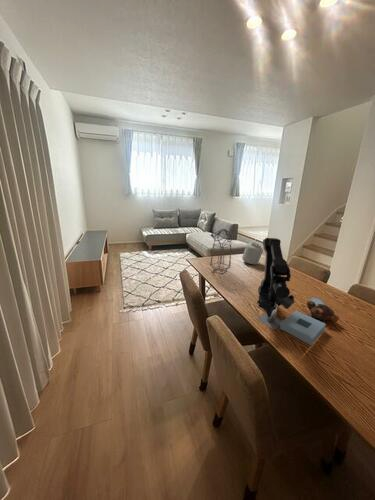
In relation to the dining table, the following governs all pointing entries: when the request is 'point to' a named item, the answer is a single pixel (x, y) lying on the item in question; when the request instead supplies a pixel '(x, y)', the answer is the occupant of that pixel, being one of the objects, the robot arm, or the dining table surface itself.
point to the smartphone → (317, 301)
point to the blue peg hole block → (303, 327)
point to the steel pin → (272, 315)
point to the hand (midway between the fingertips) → (271, 315)
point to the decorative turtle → (321, 312)
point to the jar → (252, 253)
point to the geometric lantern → (222, 248)
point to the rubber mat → (272, 325)
